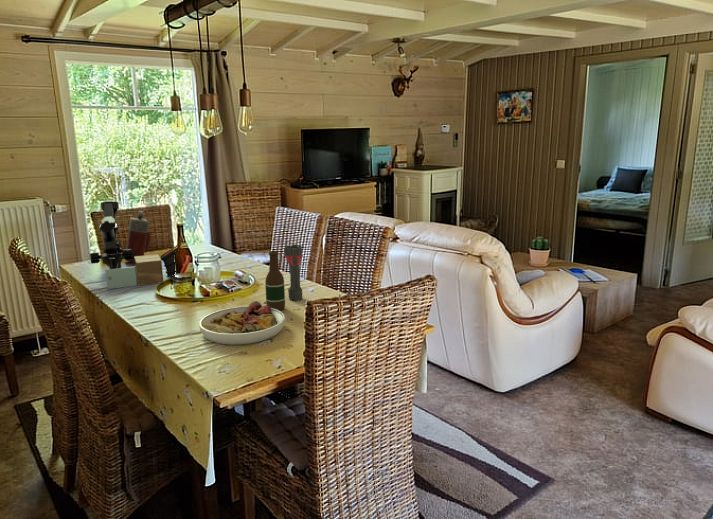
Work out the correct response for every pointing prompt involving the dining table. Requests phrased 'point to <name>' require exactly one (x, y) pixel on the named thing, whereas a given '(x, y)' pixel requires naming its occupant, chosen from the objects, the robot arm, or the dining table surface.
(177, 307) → the dining table surface
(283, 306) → the beer bottle
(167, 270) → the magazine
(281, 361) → the dining table surface
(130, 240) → the red grey bottle
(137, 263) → the walnut box
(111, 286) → the door
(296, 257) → the flashlight
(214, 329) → the bowl
